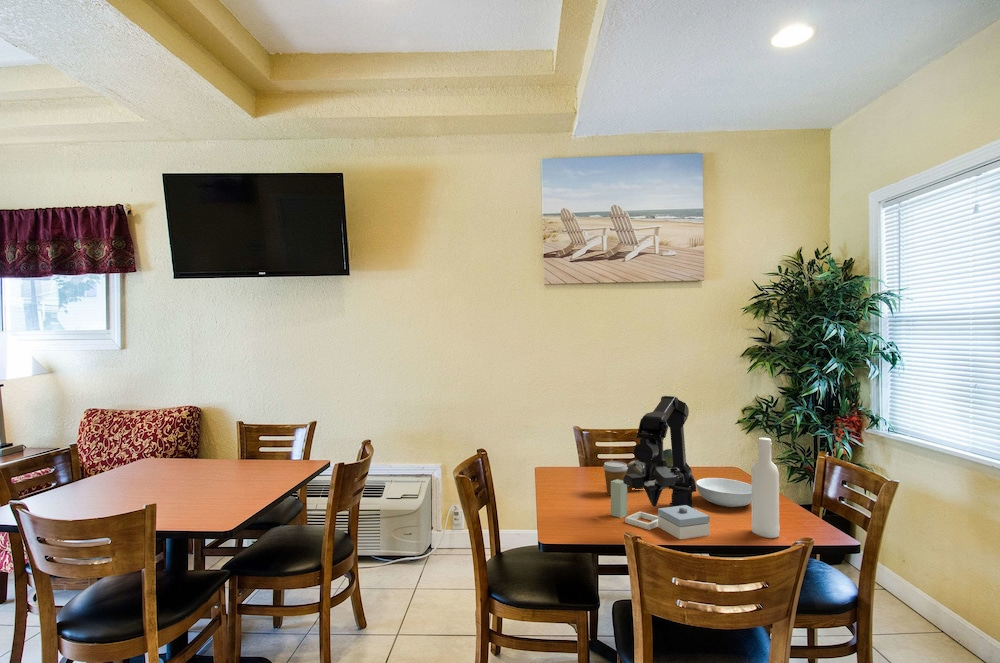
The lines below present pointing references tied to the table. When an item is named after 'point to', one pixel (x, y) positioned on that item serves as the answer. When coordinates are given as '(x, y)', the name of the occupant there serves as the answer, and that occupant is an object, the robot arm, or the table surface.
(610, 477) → the disposable coffee cup
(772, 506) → the bottle
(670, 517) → the lid
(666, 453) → the squash
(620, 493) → the sage post
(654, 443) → the robot arm
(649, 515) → the post well
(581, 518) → the table surface
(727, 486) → the serving bowl
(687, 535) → the lidded well
